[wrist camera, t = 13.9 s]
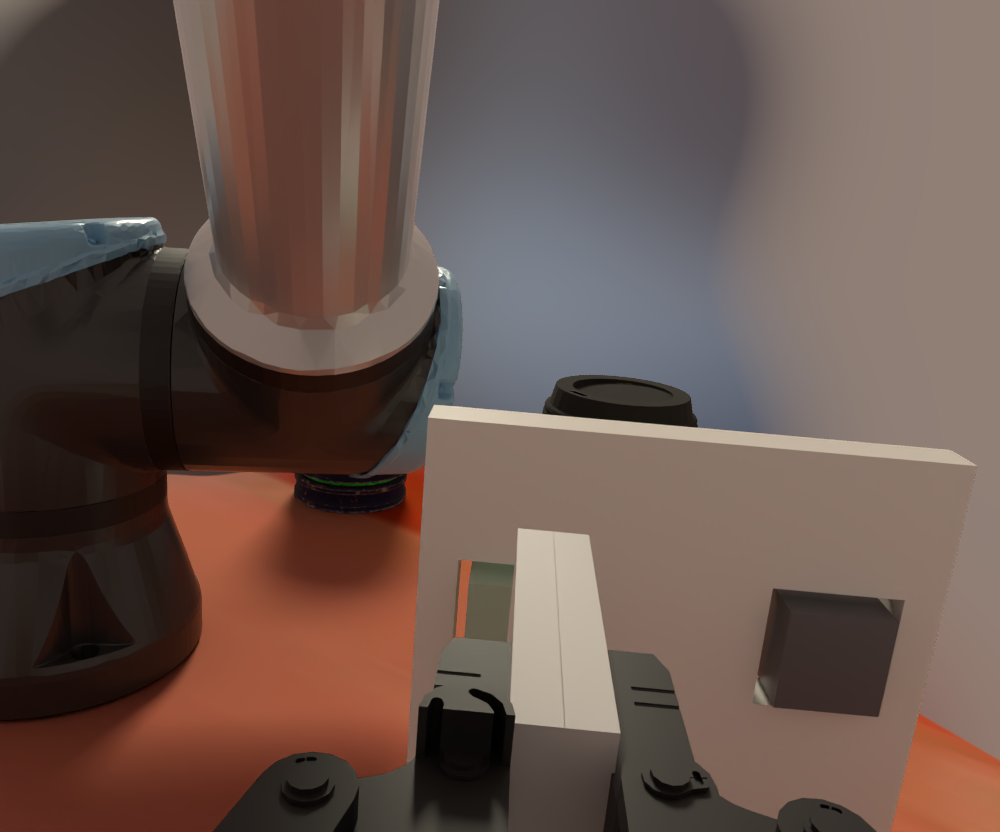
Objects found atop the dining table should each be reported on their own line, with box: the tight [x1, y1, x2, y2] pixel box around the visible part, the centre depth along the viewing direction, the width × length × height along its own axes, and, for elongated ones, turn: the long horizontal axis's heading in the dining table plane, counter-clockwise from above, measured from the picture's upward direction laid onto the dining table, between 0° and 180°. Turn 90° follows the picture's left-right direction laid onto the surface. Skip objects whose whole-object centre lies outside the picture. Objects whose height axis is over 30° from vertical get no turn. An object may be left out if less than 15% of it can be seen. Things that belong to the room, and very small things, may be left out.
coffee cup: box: [543, 375, 698, 428], centre depth 54 cm, size 10×10×15 cm
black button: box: [758, 588, 899, 717], centre depth 34 cm, size 4×6×4 cm, turn 178°
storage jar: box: [294, 473, 407, 514], centre depth 71 cm, size 10×10×15 cm
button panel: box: [407, 405, 977, 832], centre depth 35 cm, size 20×6×18 cm, turn 88°
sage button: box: [465, 561, 514, 642], centre depth 34 cm, size 4×6×4 cm, turn 178°
